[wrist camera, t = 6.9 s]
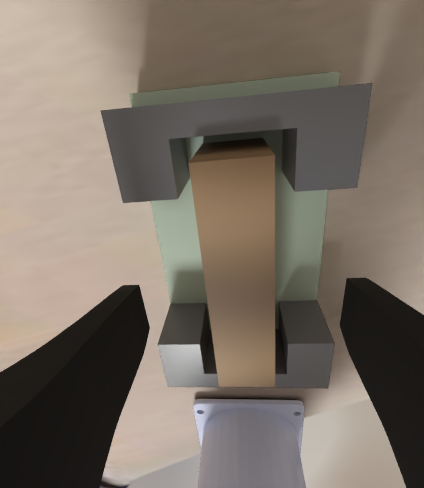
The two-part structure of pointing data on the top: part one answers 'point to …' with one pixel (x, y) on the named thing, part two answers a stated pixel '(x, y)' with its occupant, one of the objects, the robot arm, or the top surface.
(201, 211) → the slat
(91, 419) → the robot arm
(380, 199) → the top surface
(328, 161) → the end caps
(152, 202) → the base board
